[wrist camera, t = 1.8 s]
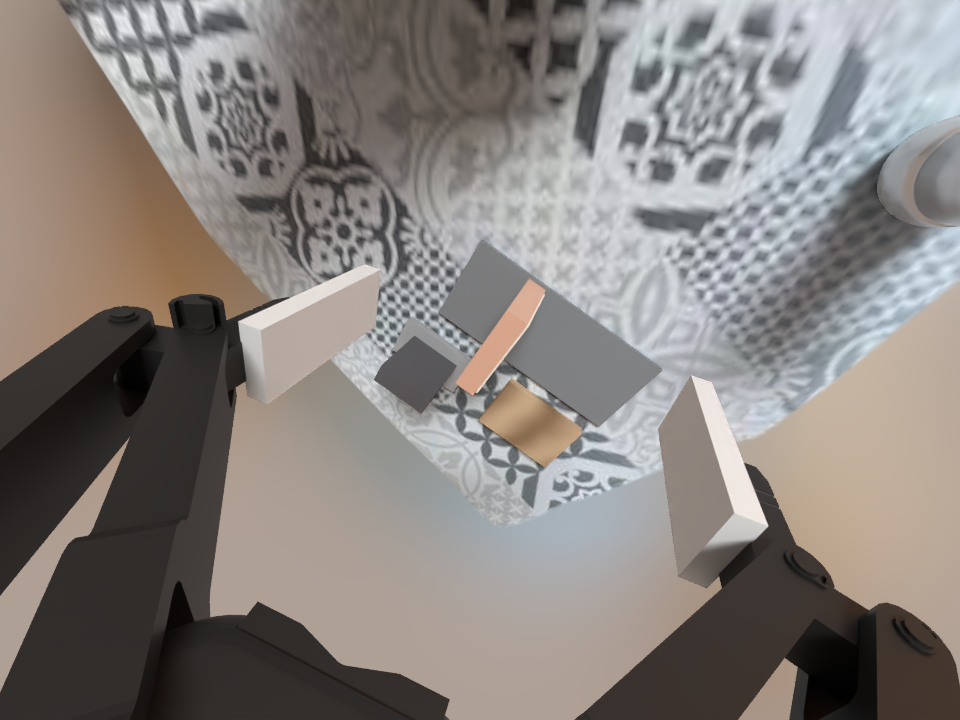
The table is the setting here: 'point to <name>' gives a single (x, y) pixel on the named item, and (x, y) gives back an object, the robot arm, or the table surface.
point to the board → (529, 423)
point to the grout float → (421, 365)
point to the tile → (502, 338)
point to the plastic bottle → (924, 177)
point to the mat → (550, 338)
